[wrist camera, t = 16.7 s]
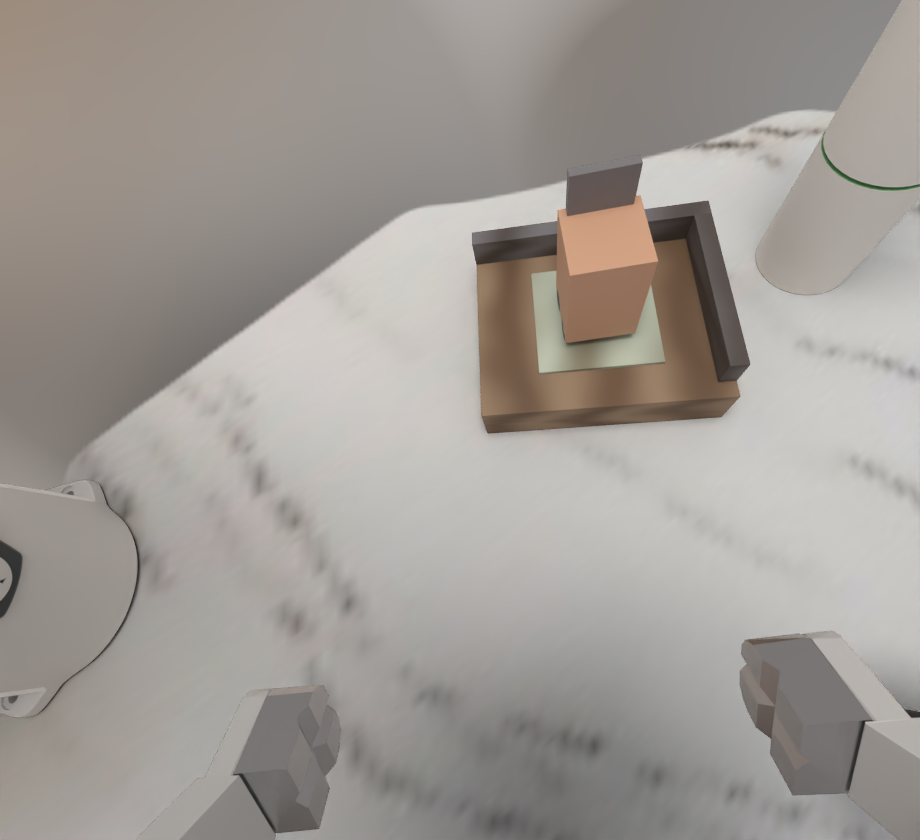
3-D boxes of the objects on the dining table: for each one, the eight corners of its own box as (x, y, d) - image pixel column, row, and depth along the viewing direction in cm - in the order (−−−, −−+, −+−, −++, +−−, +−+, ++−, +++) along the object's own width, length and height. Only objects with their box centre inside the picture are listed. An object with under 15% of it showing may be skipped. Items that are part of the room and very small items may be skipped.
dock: (487, 433, 40) (476, 403, 34) (482, 281, 45) (471, 232, 39) (721, 417, 37) (754, 381, 31) (685, 257, 42) (708, 200, 36)
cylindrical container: (872, 264, 39) (1340, -225, 16) (801, 310, 39) (1173, -120, 16) (803, 211, 42) (1117, -271, 19) (736, 253, 41) (971, -183, 18)
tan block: (565, 348, 36) (572, 240, 25) (555, 293, 38) (558, 170, 27) (633, 338, 36) (670, 223, 25) (620, 283, 37) (649, 152, 27)
